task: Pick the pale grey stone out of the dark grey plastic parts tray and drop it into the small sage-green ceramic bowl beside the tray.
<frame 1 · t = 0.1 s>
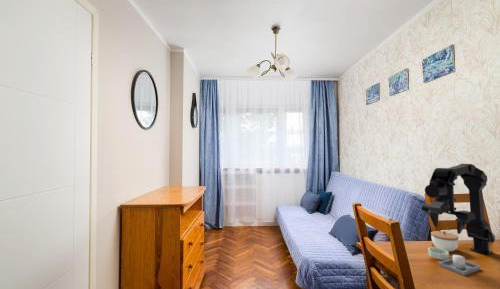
hand: (446, 230, 104), 15 cm above the table, tool pointing down, fingers open, 9 cm apart
lidded jar: (444, 250, 117), on the table
parts tray: (459, 268, 99), on the table
bowl: (438, 257, 109), on the table
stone: (459, 267, 99), resting on parts tray
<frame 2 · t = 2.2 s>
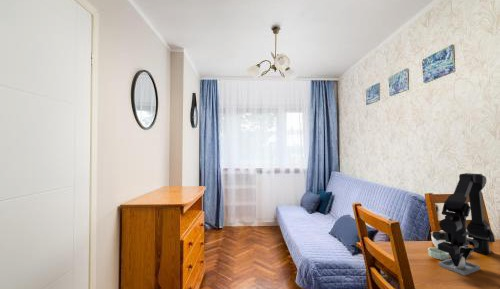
hand: (458, 265, 99), 1 cm above the table, tool pointing down, fingers closed on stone, 4 cm apart
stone: (459, 267, 99), resting on parts tray, touching gripper
everything else where it was.
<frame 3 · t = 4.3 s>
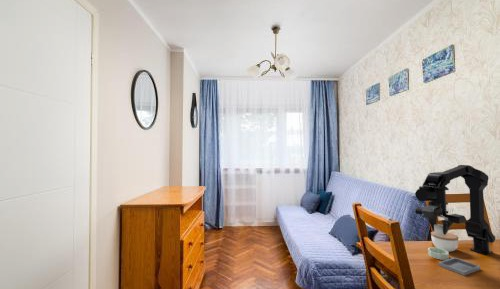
hand: (439, 232, 109), 12 cm above the table, tool pointing down, fingers closed on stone, 4 cm apart
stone: (439, 234, 109), point 11 cm above the table, touching gripper
everything else where it was.
when the fingers open (4 cm above the table, at t = 6.3 s): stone drops 2 cm, resting on bowl.
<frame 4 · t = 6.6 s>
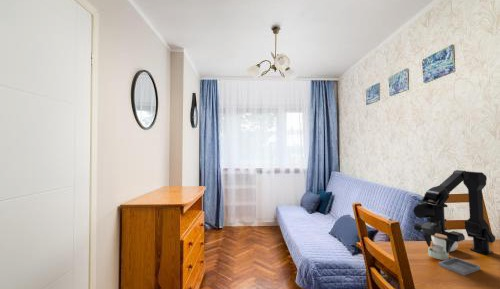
hand: (438, 249, 109), 4 cm above the table, tool pointing down, fingers open, 7 cm apart
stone: (438, 255, 109), point 1 cm above the table, touching bowl
everything else where it was.
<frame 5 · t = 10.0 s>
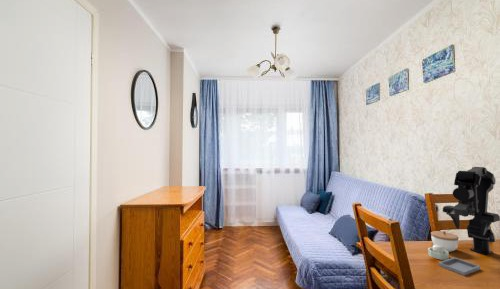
hand: (470, 231, 106), 13 cm above the table, tool pointing down, fingers open, 9 cm apart
nothing on the table moved.
at the end: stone 0.0 cm off-centre on the bowl, point 0.6 cm above the bowl's base; the gripper is holding nothing; lidded jar moved 0.2 cm from its start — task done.
